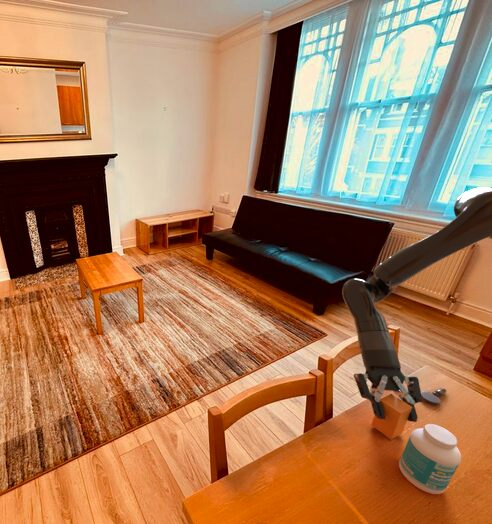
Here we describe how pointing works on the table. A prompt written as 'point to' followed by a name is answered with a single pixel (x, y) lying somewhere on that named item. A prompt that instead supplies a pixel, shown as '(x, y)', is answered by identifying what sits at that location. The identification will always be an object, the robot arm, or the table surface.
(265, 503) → the table surface
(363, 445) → the table surface
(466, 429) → the table surface
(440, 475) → the pill bottle
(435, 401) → the grey oval keychain
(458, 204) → the robot arm
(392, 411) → the orange rectangular block
